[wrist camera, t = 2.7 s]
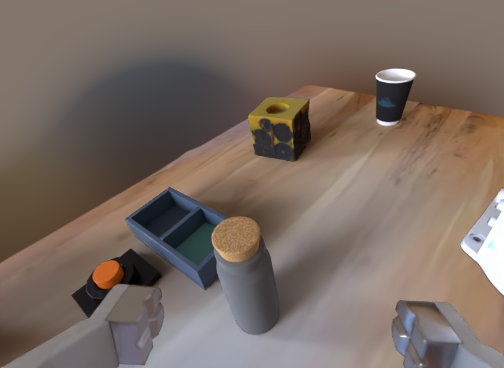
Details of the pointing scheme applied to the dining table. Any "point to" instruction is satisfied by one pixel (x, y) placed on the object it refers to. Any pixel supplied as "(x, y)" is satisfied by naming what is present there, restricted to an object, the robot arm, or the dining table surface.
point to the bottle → (246, 274)
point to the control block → (134, 274)
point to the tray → (179, 233)
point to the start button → (108, 274)
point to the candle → (280, 128)
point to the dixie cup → (392, 94)
